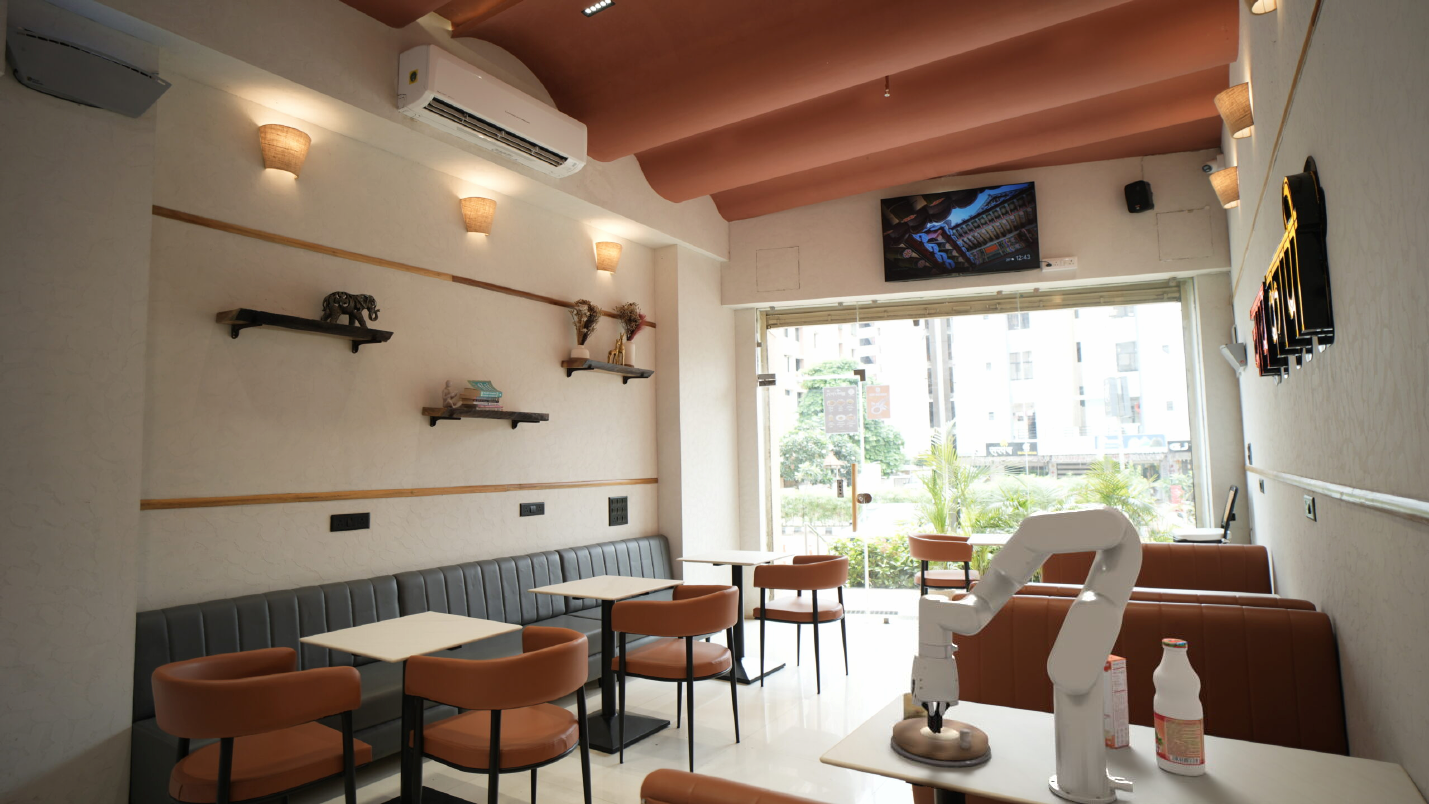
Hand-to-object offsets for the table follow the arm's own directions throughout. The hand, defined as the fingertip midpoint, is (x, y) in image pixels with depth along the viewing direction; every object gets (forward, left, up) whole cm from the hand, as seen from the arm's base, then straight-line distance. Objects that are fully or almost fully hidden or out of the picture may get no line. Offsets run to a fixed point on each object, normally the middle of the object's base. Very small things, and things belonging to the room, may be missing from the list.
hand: (934, 730), depth 171 cm
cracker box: (-35, -31, -7) cm, 47 cm away
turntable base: (0, -9, -7) cm, 11 cm away
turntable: (0, -9, -5) cm, 11 cm away
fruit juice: (-51, -18, -7) cm, 55 cm away
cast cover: (+8, -27, -7) cm, 29 cm away
